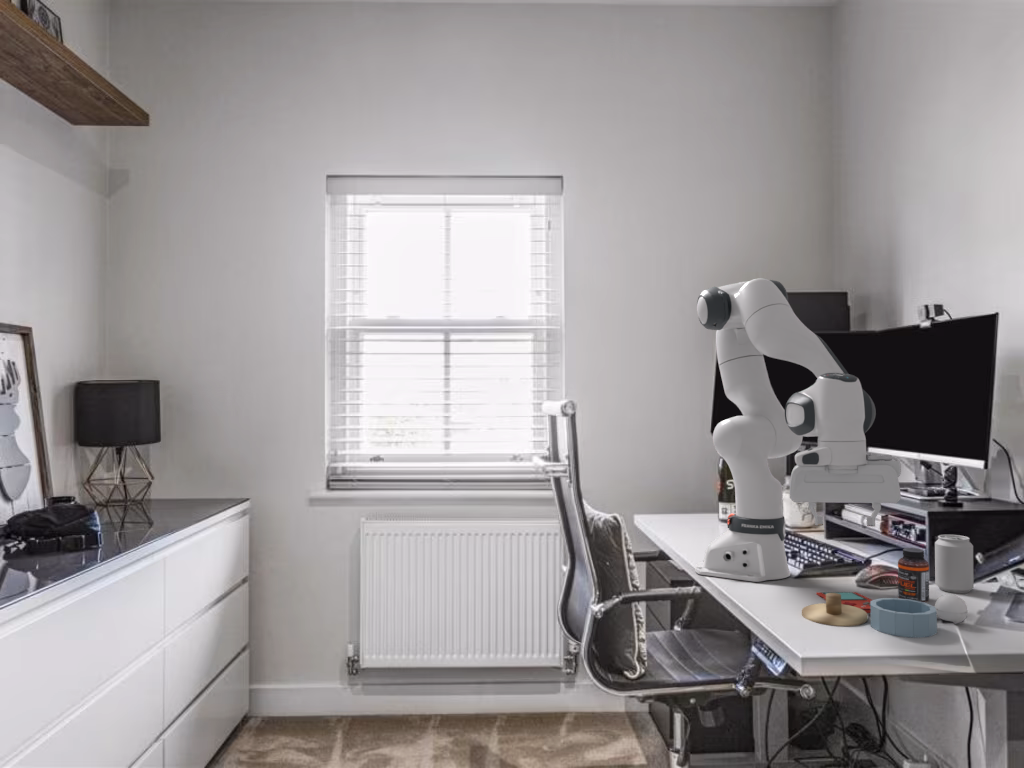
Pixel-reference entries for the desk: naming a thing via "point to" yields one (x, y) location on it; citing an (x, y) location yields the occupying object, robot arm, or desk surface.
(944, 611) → the white rounded lump
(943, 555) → the can
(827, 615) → the lid
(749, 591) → the desk surface
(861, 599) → the handheld gaming console
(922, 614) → the bowl
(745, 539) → the robot arm
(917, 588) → the supplement bottle
